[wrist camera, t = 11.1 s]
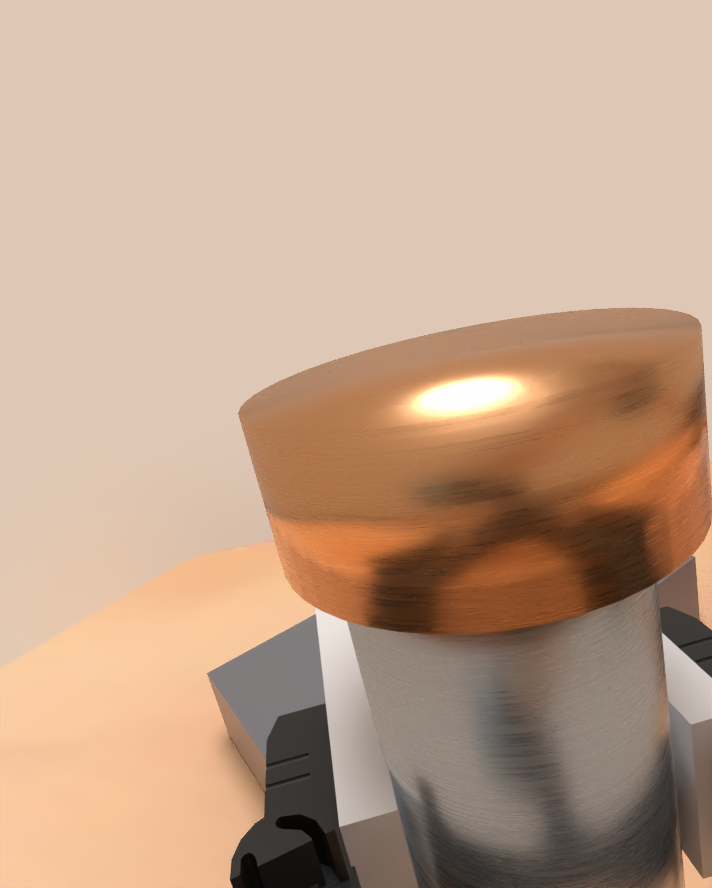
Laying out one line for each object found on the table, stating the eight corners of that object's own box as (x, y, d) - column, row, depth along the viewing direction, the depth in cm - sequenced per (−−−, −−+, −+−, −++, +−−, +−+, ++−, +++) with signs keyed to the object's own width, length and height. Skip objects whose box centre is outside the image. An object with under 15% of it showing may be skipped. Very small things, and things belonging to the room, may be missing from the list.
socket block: (524, 557, 41) (515, 505, 40) (700, 624, 31) (695, 557, 30) (229, 736, 31) (207, 673, 30) (347, 923, 21) (319, 838, 20)
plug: (573, 951, 15) (465, 318, 11) (814, 1199, 11) (806, 293, 6) (410, 1128, 13) (183, 407, 8) (637, 1543, 8) (409, 469, 4)
